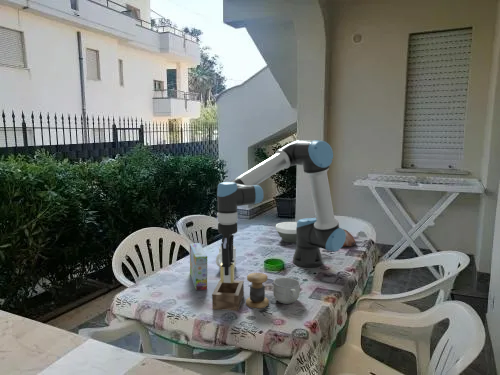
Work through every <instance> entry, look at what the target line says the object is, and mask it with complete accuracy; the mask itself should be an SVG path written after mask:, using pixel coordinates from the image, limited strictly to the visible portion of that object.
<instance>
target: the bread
mask: <svg viewBox="0 0 500 375" xmlns="http://www.w3.org/2000/svg"><path fill="white" fill-rule="evenodd" d="M342 229H343V230H344V231H345V233H346V239H345V242H344V244H343V246H342V247H341V248H343V247H345V248H347V247H350V248H351V247H354V246H355V244H356V240H355V238H354V236H353V235H352V234H351V233H350V232H349V231H348V230H347V229H345V228H342Z"/></svg>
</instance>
